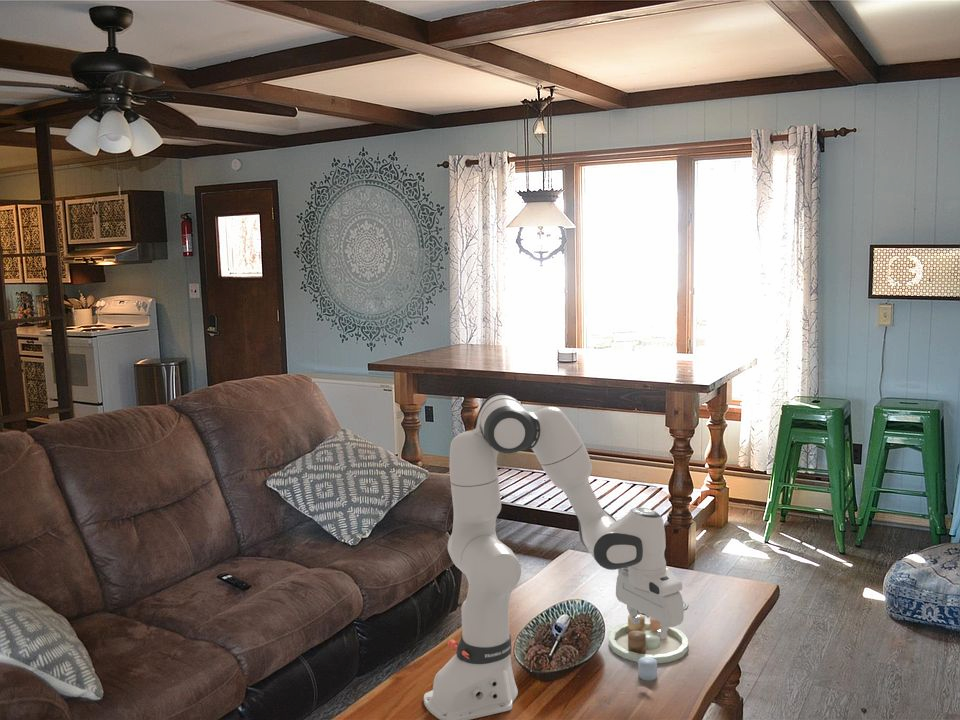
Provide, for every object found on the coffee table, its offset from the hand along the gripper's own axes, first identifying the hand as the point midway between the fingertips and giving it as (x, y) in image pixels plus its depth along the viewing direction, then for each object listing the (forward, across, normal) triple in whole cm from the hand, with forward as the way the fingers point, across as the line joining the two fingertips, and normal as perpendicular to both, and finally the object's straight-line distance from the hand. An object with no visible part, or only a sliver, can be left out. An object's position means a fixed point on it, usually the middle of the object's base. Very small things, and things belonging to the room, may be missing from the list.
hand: (648, 630), depth 203 cm
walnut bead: (+12, -10, +5) cm, 16 cm away
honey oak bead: (+12, -18, +12) cm, 24 cm away
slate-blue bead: (+13, 0, 0) cm, 13 cm away
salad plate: (+14, -30, +29) cm, 44 cm away
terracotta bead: (+12, -14, +16) cm, 24 cm away
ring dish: (+13, -12, +10) cm, 21 cm away
